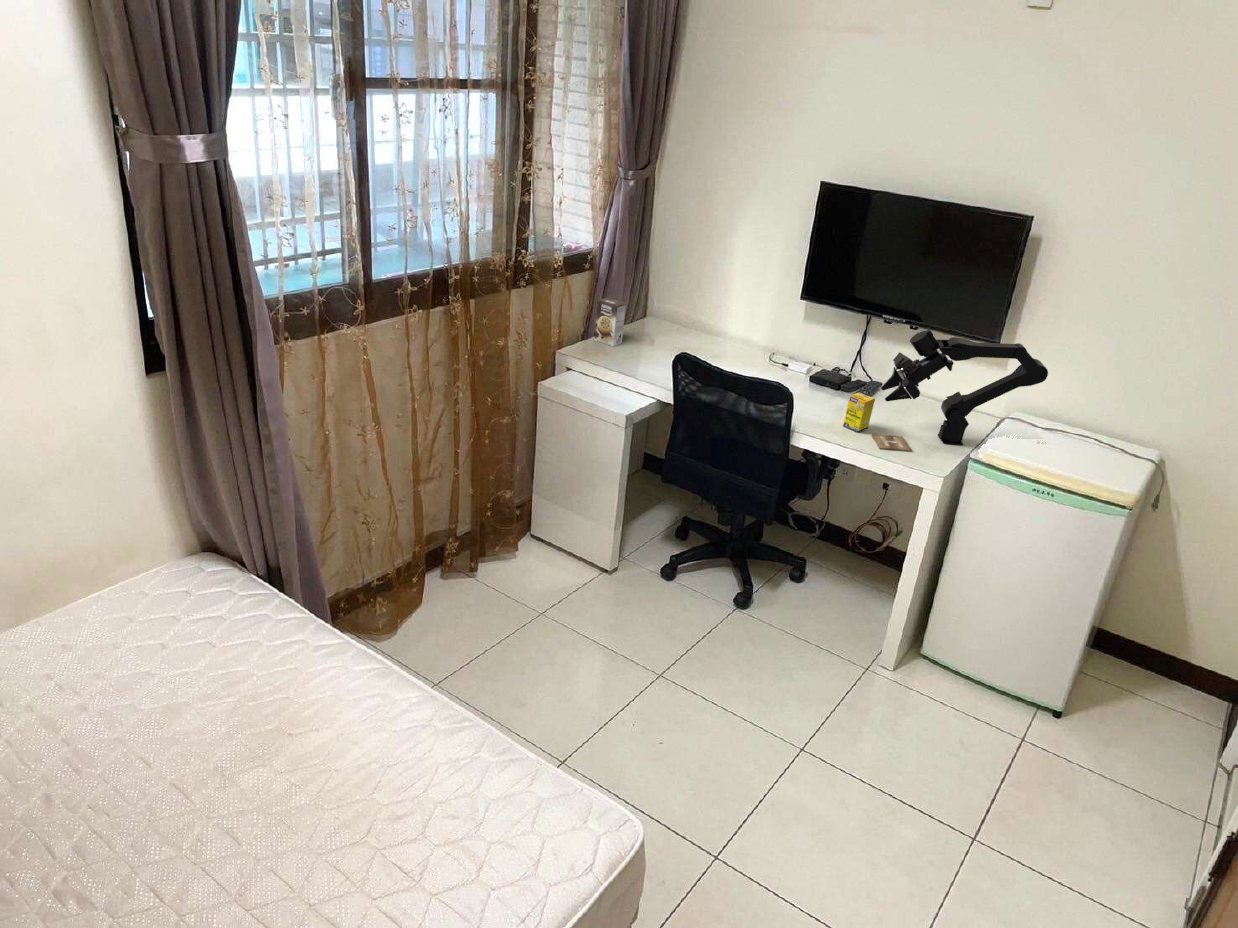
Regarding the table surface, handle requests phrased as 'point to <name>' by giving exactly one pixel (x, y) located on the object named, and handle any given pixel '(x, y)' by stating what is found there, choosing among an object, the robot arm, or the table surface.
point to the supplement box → (858, 412)
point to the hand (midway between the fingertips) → (883, 394)
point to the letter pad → (891, 442)
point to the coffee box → (610, 321)
